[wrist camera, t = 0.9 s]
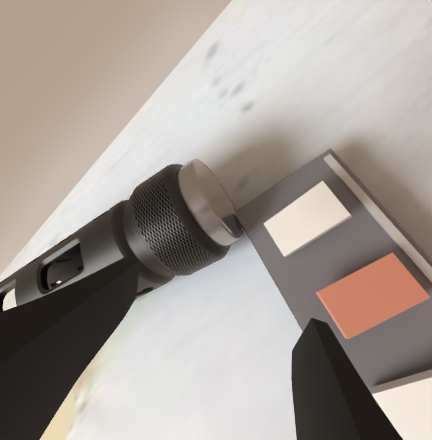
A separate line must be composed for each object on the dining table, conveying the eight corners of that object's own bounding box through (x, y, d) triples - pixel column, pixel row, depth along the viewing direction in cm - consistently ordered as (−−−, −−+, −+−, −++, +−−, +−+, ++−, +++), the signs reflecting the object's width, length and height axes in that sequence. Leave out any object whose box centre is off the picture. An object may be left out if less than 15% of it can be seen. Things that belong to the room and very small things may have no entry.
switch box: (560, 428, 14) (621, 466, 11) (394, 477, 16) (409, 519, 13) (330, 163, 23) (330, 146, 20) (244, 219, 25) (233, 211, 22)
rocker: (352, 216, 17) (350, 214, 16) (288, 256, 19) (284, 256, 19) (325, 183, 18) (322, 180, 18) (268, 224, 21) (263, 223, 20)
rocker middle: (421, 298, 15) (430, 297, 15) (344, 337, 16) (348, 339, 15) (386, 255, 17) (392, 252, 16) (315, 292, 17) (317, 291, 16)
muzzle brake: (63, 277, 35) (-29, 275, 26) (224, 179, 28) (174, 129, 19) (71, 345, 31) (-33, 371, 22) (259, 253, 24) (218, 236, 15)
